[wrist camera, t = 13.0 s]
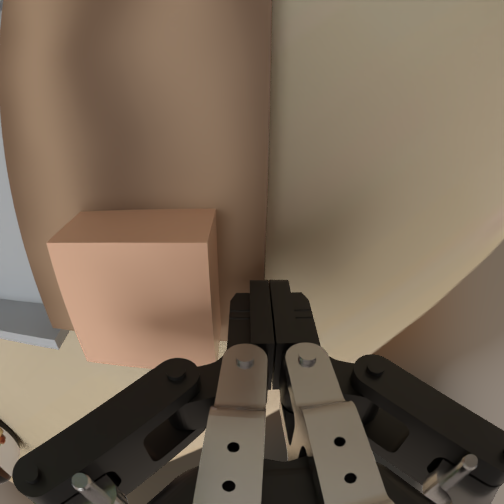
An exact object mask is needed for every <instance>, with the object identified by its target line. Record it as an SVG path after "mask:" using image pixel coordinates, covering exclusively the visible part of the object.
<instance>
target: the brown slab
mask: <svg viewBox="0 0 504 504" xmlns="http://www.w3.org/2000/svg"><path fill="white" fill-rule="evenodd" d="M271 33H272V0H3V6H2V15H1V26H0V117H1V128H2V138H3V146H4V154H5V161H6V167H7V173H8V179H9V184H10V190H11V195H12V199H13V204H14V209H15V213H16V217H17V221H18V225H19V229H20V233H21V237H22V240H23V244H24V248H25V251H26V254H27V258H28V261H29V264H30V267H31V270H32V274H33V277H34V280H35V282H36V285H37V288H38V291H39V294H40V297H41V299H42V302H43V305H44V307H45V310H46V312H47V315H48V317H49V320H50V322H51V325H52V327H53V328H57V329H64V330H72V331H75V330H74V327H73V325H72V322H71V320H70V317H69V314H68V311H67V309H66V306H65V303H64V300H63V297H62V294H61V291H60V288H59V285H58V282H57V279H56V275H55V272H54V269H53V265H52V262H51V259H50V255H49V251H48V248H47V244H46V243H47V242H48V241H49V240H50V239H51V238H52V237H53V236H54V235H55V234H56V233H57V232H58V231H59V230H61V229H62V228H63V227H64V226H65V225H66V224H67V223H68V222H69V221H70V220H72V219H73V218H74V217H75V216H76V215H77V214H78V213H79V212H84V211H109V210H143V209H216V228H217V255H218V278H219V298H220V317H221V331H220V341H228V326H229V312H230V300H231V299H232V298H233V296H234V295H235V294H236V293H250V280H264V276H265V250H266V223H267V194H268V162H269V127H270V86H271Z"/></svg>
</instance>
